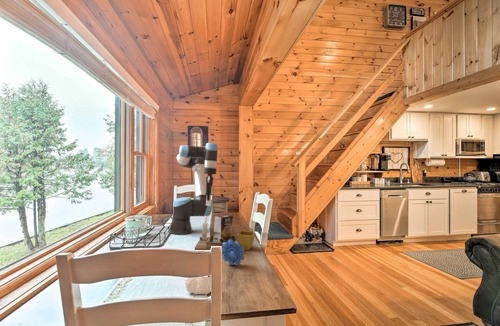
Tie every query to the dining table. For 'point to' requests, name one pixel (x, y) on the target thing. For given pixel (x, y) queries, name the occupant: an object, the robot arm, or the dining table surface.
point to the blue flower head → (232, 252)
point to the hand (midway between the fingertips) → (208, 205)
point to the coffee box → (222, 228)
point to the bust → (198, 285)
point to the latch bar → (204, 231)
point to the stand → (210, 243)
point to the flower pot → (246, 239)
